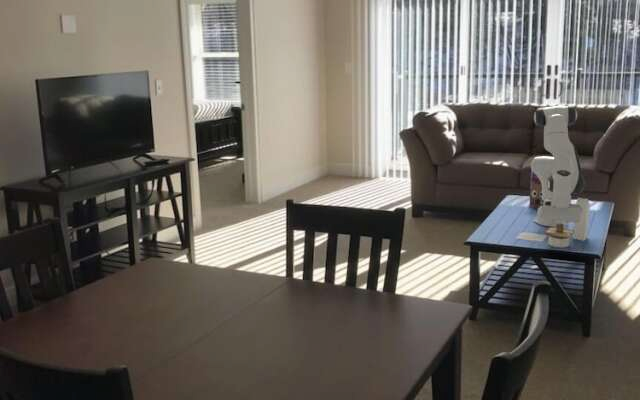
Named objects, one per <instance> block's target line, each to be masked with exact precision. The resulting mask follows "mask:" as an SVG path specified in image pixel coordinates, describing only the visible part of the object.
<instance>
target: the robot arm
mask: <svg viewBox="0 0 640 400" xmlns="http://www.w3.org/2000/svg"><path fill="white" fill-rule="evenodd" d="M576 109H577V108H576V107H574V106H572V105H567V106H566V105H554V106H547V107H543V106H542V107H539V108H537V109H536V110H534V111H535V112H534V115H533V121H534V123H535V125H536V126H537V127H540V128H543V147H544V149H545V150H546V151H547V152H549V153H550V154H551V155H552V156H548V155H547V156H546V155H542V156H541V155H539V156H535V157H534V158H533V159H532V161H531V163H530V169H531V170H532V171H533V172H534V173H535V174H536V175H537V176H538V178H539V179H540V181H541V184H542V199H541V207H539V208H537V215H536V219H534V220H533V222H534V223H536V224H538V225H541V226H545V227H552V228H556V229H557V223H562V224H563V229H564V230H566V229H567V226H568V225H569V223H574V222H576V223H579V222H581V220H582V214H581V213H582V211H583V208H582V206H581V205H579V204H576V203H572V195H571V194H574V195H575V194H577V195H579V194H581V193H582V192H583V191H584V190H585V189H586V187H585V186H586V182H585V178H584V175H583V172H582V168H581V163H580V159H579V153H578V150H577V147H576V146H575V144H573V143H572V142H571V140H570V137H569V130H568V126H572V125H575V123H576V122H577V118H578V111H577V110H576ZM580 206H581V207H580Z"/></svg>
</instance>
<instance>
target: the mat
mask: <svg viewBox="0 0 640 400" xmlns="http://www.w3.org/2000/svg"><path fill="white" fill-rule="evenodd" d="M547 237H549V235H545V234H541V233H540V234H539V233H533V232H525V231H524V232H523V231H522V232H521V233H519V234H518V235H517V236H516V237H515V239H518V240H526V241H532V242H540V243H542V242H543V241H544V240H545V239H546V238H547Z"/></svg>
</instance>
